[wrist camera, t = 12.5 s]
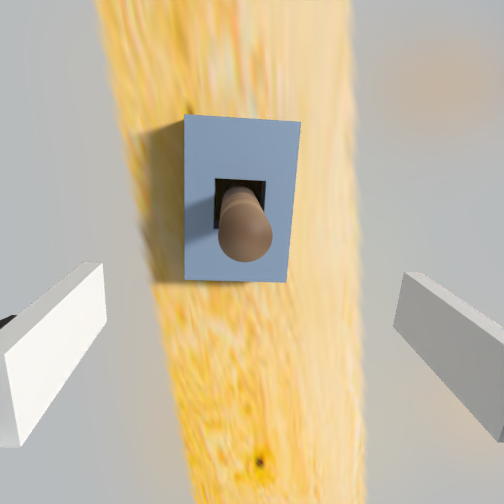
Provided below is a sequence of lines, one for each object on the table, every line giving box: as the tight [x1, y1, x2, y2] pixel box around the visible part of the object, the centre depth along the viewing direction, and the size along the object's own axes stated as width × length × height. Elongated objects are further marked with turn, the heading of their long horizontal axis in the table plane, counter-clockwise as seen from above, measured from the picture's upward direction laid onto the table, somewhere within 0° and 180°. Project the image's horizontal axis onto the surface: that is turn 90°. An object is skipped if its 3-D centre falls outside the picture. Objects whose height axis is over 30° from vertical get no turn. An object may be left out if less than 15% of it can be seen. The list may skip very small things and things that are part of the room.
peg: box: [218, 183, 273, 262], centre depth 34 cm, size 4×4×18 cm
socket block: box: [184, 114, 301, 283], centre depth 40 cm, size 18×12×4 cm, turn 177°
